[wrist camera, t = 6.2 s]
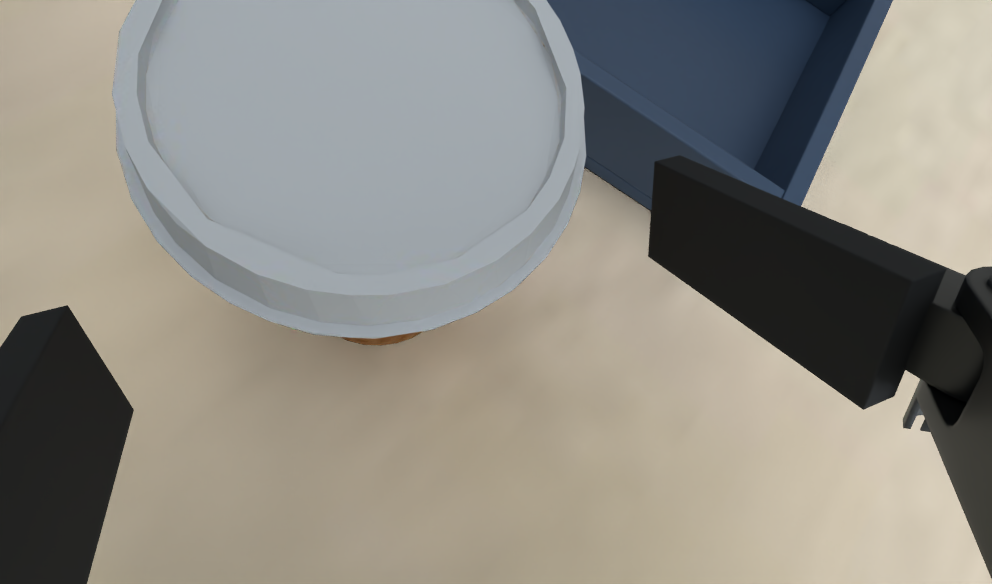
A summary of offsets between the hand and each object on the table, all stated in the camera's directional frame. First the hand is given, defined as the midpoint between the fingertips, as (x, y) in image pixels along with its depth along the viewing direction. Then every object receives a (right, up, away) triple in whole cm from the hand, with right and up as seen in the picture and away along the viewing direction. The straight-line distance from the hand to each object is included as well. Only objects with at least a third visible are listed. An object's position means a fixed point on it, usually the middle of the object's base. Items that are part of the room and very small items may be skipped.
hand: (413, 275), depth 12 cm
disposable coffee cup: (-3, +1, +9) cm, 10 cm away
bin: (+10, +12, +15) cm, 21 cm away
